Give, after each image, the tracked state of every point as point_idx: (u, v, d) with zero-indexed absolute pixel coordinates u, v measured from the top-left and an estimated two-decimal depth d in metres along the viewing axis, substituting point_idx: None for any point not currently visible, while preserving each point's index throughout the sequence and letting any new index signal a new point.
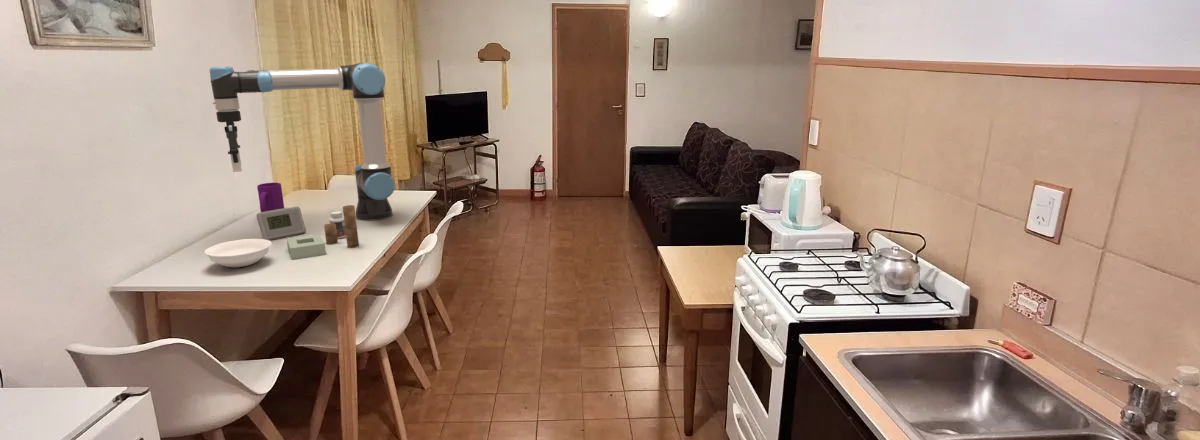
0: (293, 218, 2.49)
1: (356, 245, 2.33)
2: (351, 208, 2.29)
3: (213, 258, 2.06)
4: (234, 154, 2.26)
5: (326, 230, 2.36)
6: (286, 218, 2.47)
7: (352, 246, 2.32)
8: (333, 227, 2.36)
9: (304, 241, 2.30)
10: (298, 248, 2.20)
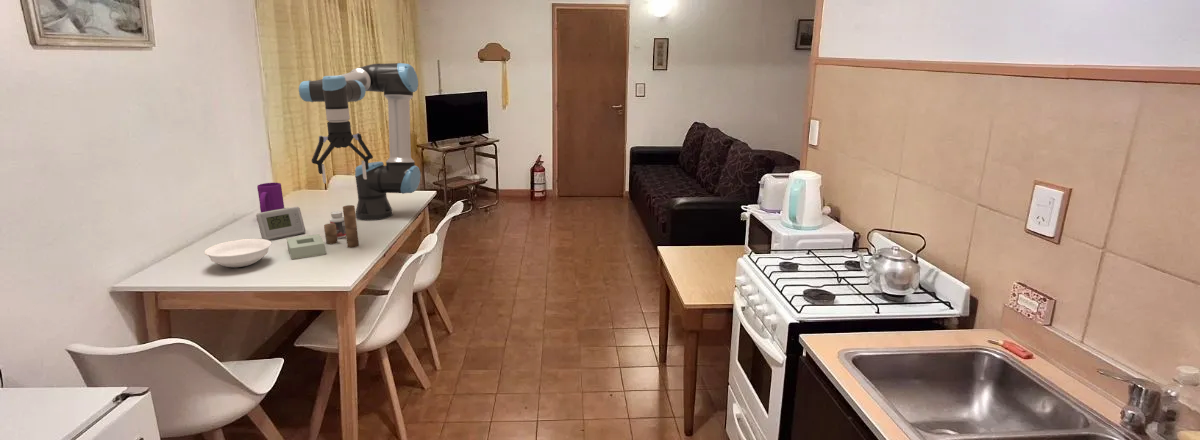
0: (293, 218, 2.49)
1: (356, 245, 2.33)
2: (351, 208, 2.29)
3: (213, 258, 2.06)
4: None
5: (326, 230, 2.36)
6: (286, 218, 2.47)
7: (352, 246, 2.32)
8: (333, 227, 2.36)
9: (304, 241, 2.30)
10: (298, 248, 2.20)
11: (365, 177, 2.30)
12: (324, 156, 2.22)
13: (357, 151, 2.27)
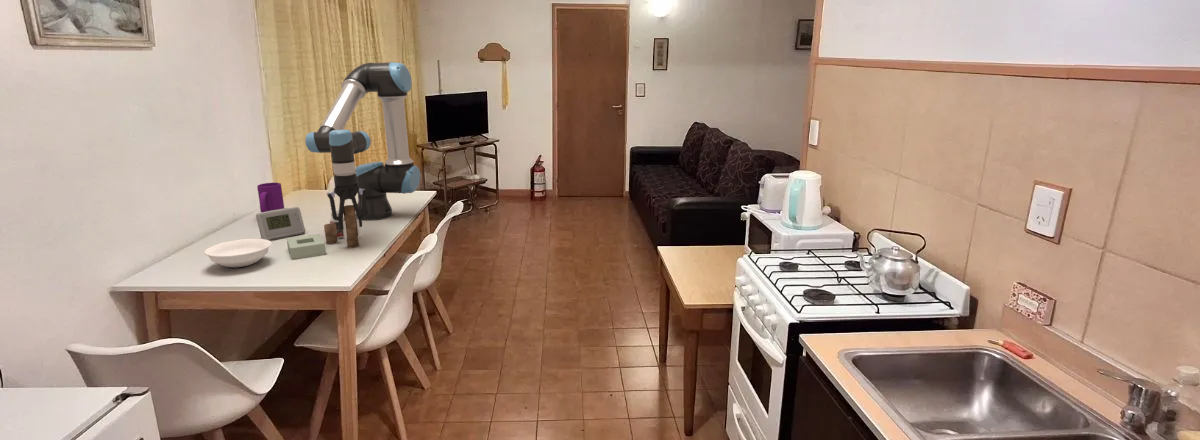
0: (292, 218, 2.48)
1: (356, 245, 2.33)
2: (351, 208, 2.29)
3: (213, 258, 2.06)
4: None
5: (326, 230, 2.36)
6: (285, 218, 2.47)
7: (352, 246, 2.33)
8: (333, 227, 2.36)
9: (304, 241, 2.30)
10: (298, 248, 2.20)
11: (359, 234, 2.33)
12: (341, 212, 2.29)
13: (356, 206, 2.31)
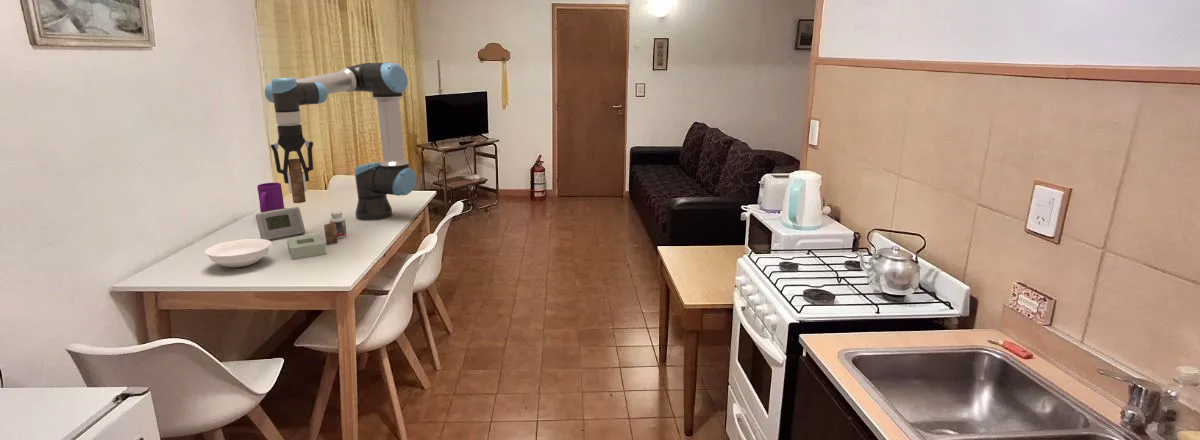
0: (292, 218, 2.48)
1: (302, 200, 2.22)
2: (296, 161, 2.19)
3: (213, 258, 2.06)
4: (283, 174, 2.19)
5: (326, 230, 2.36)
6: (285, 218, 2.47)
7: (298, 201, 2.22)
8: (333, 227, 2.36)
9: (304, 241, 2.30)
10: (298, 248, 2.20)
11: (305, 189, 2.23)
12: (285, 164, 2.18)
13: (301, 159, 2.20)
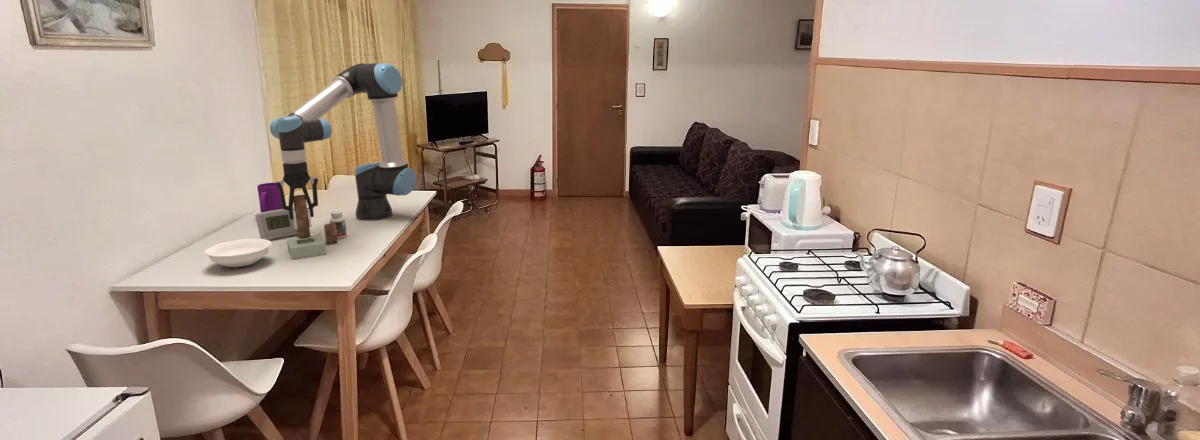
0: None
1: (307, 236, 2.26)
2: (301, 197, 2.22)
3: (213, 258, 2.06)
4: None
5: (326, 230, 2.36)
6: (285, 219, 2.46)
7: (303, 237, 2.25)
8: (333, 227, 2.36)
9: (304, 241, 2.30)
10: (298, 248, 2.20)
11: (310, 225, 2.26)
12: (291, 201, 2.21)
13: (306, 196, 2.23)
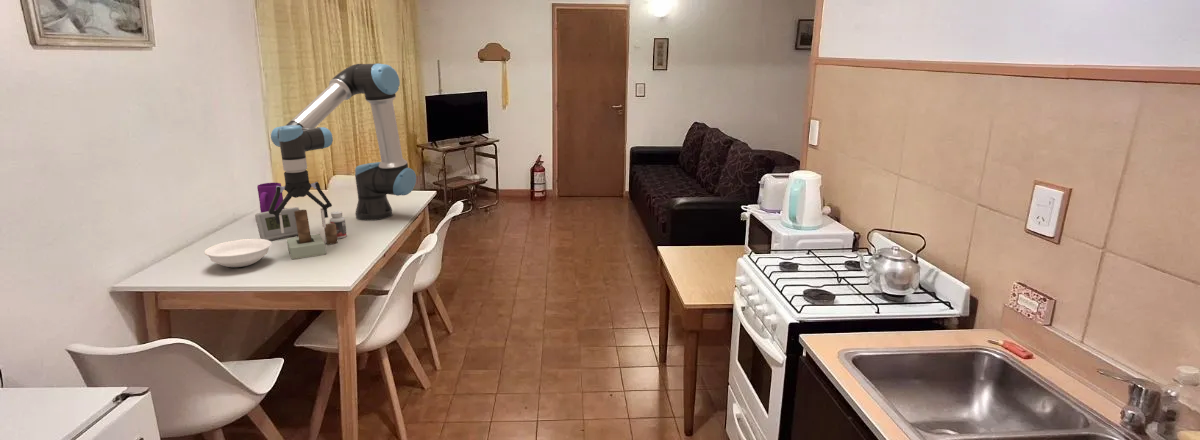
0: (292, 219, 2.48)
1: None
2: (303, 212, 2.23)
3: (213, 258, 2.06)
4: None
5: (326, 230, 2.36)
6: (285, 219, 2.46)
7: None
8: (333, 227, 2.36)
9: None
10: (298, 248, 2.20)
11: (324, 225, 2.28)
12: (281, 206, 2.20)
13: (315, 200, 2.25)
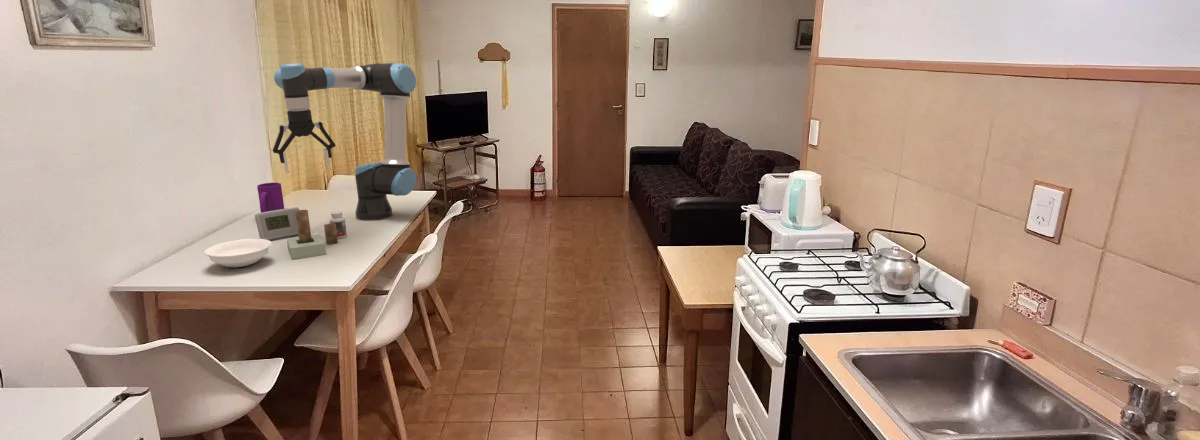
0: (292, 219, 2.48)
1: None
2: (304, 213, 2.24)
3: (213, 258, 2.06)
4: (279, 154, 2.21)
5: (326, 230, 2.36)
6: (284, 219, 2.46)
7: None
8: (333, 227, 2.36)
9: None
10: (298, 248, 2.20)
11: (328, 165, 2.29)
12: (285, 145, 2.20)
13: (319, 139, 2.25)
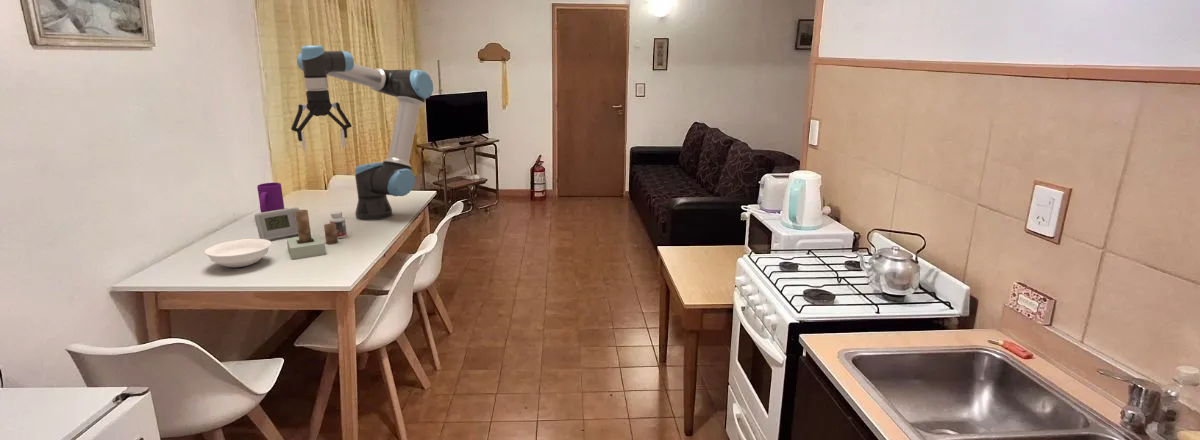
0: (291, 219, 2.47)
1: None
2: (304, 213, 2.24)
3: (213, 258, 2.06)
4: (297, 132, 2.30)
5: (326, 230, 2.36)
6: (284, 219, 2.46)
7: None
8: (333, 227, 2.36)
9: None
10: (298, 248, 2.20)
11: (344, 145, 2.37)
12: (303, 124, 2.29)
13: (336, 119, 2.34)
